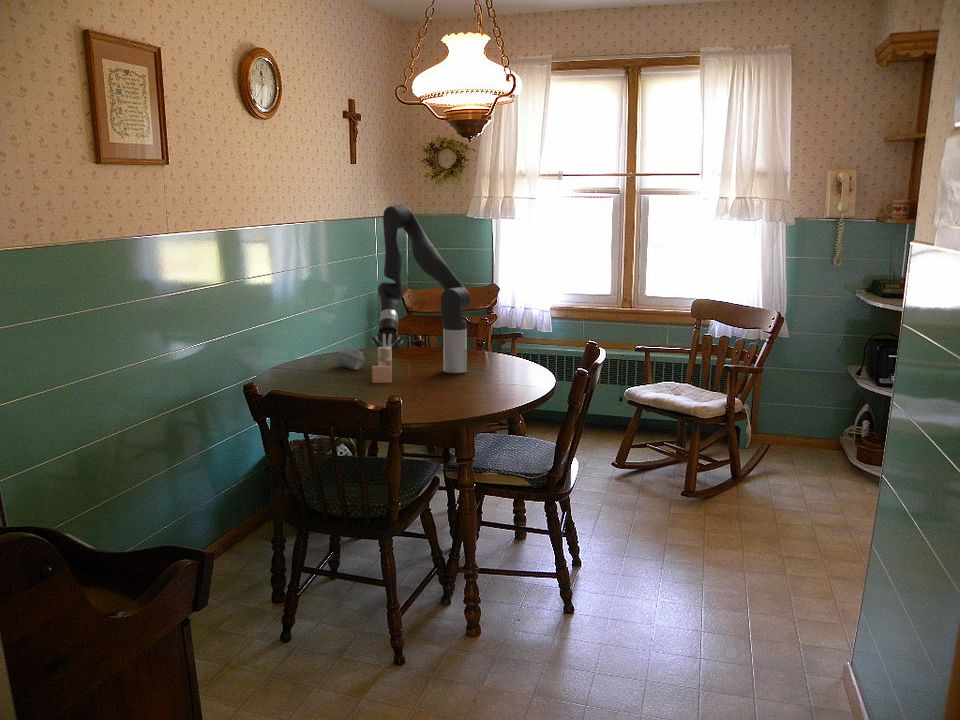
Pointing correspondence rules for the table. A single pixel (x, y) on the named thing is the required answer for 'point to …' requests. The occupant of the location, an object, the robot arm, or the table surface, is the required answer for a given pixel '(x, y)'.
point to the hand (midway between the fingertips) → (386, 358)
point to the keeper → (384, 356)
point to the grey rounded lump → (350, 358)
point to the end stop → (382, 374)
